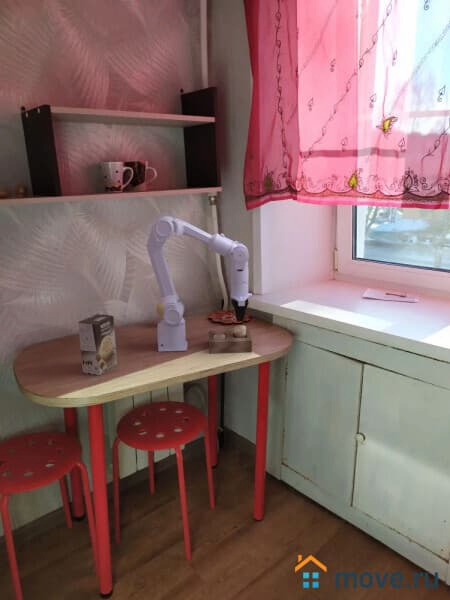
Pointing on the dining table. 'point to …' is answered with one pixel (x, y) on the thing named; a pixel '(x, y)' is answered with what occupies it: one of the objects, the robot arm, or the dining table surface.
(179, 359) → the dining table surface
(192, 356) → the dining table surface
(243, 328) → the right peg
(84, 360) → the coffee box
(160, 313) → the light bulb
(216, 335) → the left peg
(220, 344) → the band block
